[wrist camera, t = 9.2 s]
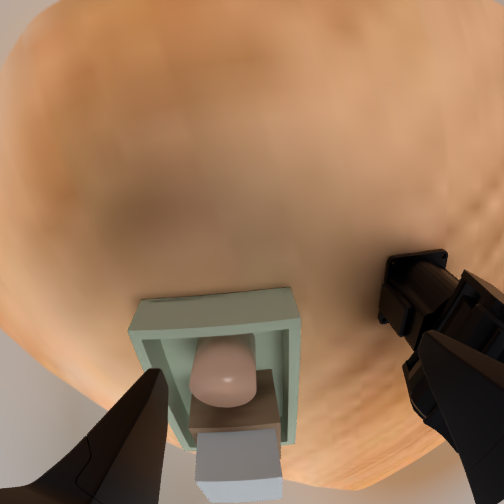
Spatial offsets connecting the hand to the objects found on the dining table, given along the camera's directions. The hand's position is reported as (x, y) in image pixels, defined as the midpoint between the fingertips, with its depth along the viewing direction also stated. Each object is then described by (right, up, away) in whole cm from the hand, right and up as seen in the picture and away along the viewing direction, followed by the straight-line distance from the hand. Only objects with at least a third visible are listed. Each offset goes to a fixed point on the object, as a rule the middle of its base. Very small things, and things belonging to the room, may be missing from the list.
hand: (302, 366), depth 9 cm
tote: (-4, -7, +16) cm, 18 cm away
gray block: (-3, -13, +12) cm, 18 cm away
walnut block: (-3, -10, +17) cm, 20 cm away
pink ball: (-4, -4, +14) cm, 15 cm away
